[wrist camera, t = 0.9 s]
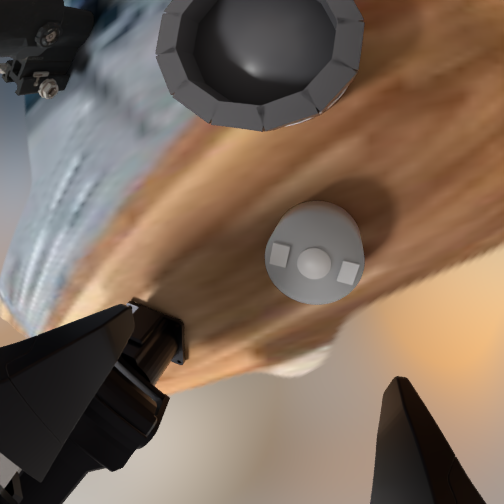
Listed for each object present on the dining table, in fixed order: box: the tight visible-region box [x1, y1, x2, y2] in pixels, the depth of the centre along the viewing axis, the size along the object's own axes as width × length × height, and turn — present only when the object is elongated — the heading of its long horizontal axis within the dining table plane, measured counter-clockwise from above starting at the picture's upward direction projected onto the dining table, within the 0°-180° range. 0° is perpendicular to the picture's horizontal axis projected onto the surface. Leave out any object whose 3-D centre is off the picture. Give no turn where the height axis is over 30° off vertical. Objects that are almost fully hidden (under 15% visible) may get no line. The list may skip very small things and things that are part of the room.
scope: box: [0, 0, 94, 99], centre depth 10 cm, size 8×14×10 cm
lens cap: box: [265, 201, 365, 305], centre depth 18 cm, size 6×6×3 cm
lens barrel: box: [156, 0, 364, 132], centre depth 12 cm, size 10×10×5 cm
